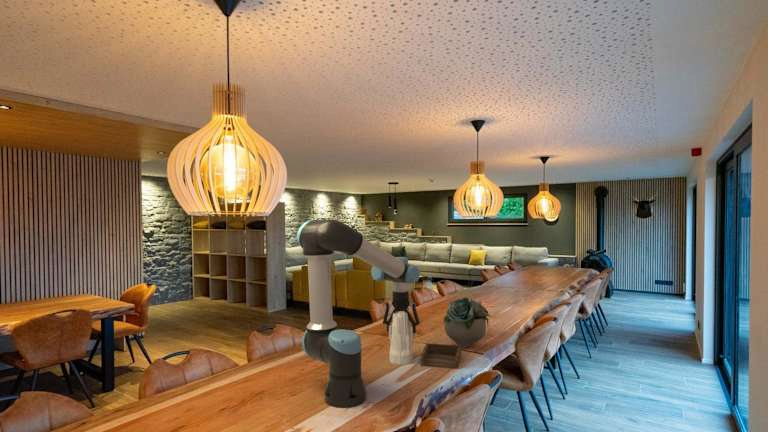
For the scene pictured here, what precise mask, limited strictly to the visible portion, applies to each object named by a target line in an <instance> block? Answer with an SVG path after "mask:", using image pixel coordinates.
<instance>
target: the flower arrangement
mask: <svg viewBox="0 0 768 432" xmlns="http://www.w3.org/2000/svg"><path fill="white" fill-rule="evenodd" d="M487 317H489V318H491V315H490V314H489V312H488V310H487V309H486V307H485V306H483V305H482V301H481V300H478V301H476V300H474V299H473V298H472V297H463V298H458V299H455V300H452V301H450V302H449V303H448V305H447V310H446V315H445V316H443V324H444V332H445V334H446V336H447V337H448V338H449V339H451V340H452V341H454V342H455V343H456V345H459V346H461V348H473V346H475V343H478V342H479V341H481V340H482V339H483V338H484V337H485V334H486V331H487V326H489V320H490V319H489V318H487Z"/></svg>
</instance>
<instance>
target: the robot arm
mask: <svg viewBox="0 0 768 432" xmlns="http://www.w3.org/2000/svg"><path fill="white" fill-rule="evenodd" d="M296 240H297V244H298V245H299V246H300V247H301V248H302V254H303V257H304V258H305V259H306V260H307V274H308V275H307V277H308V296H309V300H308V302H309V317H310V318H309V319H310V321H309V322H308V324H307V325H306V330H305V331H304V334H303V336H302V338H301V347H302V350H303V352H304V353H305V354H306V355H307V356H308V357H309V358H311V359H312V360H316V361H319V362H321V363H324V364H326V365H328V379H327V383H326V386H325V390H324V395H323V397H324V402H325V403H326V405H329V406H332V407H337V408H350V407H353V406H355V407H356V406H357V405H358V406H359V405H361V404H363V403H364V402H365V401H366V400H367V389H366V385H365V383H364V381H363V377H362V346H363V345H362V341H361V336H360V334H359V333H358V332H356V331H354V330H351V329H339V328H338V324H337V322H336V321H335V320H334V317H333V298H332V297H333V295H332V293H333V292H332V276H331V275H332V274H331V270H332V269H331V258H332V257H333V255H334V254H335V252H336V253H337V252H338V253H341V254H344V255H346V256H348V257H352V256H353V257H355V258H358V259H359V260H362V261H363V262H365V263H366V264H368V265H370V266H372V267H371V271H370V272H371V274H370V275H371V277H372V279H373V280H374V281H376V282H383V281H388V282H392V284H391V285H392V286H391V287H392V288H391V289H392V301H387V302H385V311H384V316H383V320H382V324H384V325H386V331H387V333H388V340H389V341H391V333H392V319H393V313H395V312H396V311H405V312H406V313H407V314H408V318H409V320H410V324H411V325H410V333H411V341H412V342H413V341H414V340H415V338H414V337H415V335H414V334H416V332H417V331H416V330H417V328H416V327H417V326H419V325H420V323H421V322H420V319H419V315H418V312H417V303H416V302H410V294H409V293H410V292H409V289H410V287H409V284H416V283H418V282H419V280H420V276H421V271H420V269H419V267H418V266H417V265H413V264H409V259H408V258H407V257H405V256H395V255H392V254H390V253H388V252H387V251H386V250H384V249H382V248H381V247H379V246H378V245H376V244H374V243H372V242H371V241H369V240H367V239H366V238H364V236H363V234H362V233H361V232H360V231H358V230H356V229H354V228H353V227H351V226H350V225H348V224H346V223H344V222H342V221H339V220H338V219H337V220H336V219H312V220H307V221H305V222H304V223H302V224H301V226H300V227H299V228H298V230H297V234H296ZM391 306H392V307H393V310H392V312H391V314H390V313H389V312H390V309H391ZM409 306H410V308H412V309H411V310H412V313H413V316H412V314H411V311H409V312H408V310H407V308H409ZM389 314H390V316H389ZM388 317H389V318H388Z"/></svg>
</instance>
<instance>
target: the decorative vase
mask: <svg viewBox="0 0 768 432" xmlns="http://www.w3.org/2000/svg"><path fill="white" fill-rule="evenodd" d="M407 310H408V312H410V308H409V307H408V308H407ZM391 324H392V333H391V340H390V348H389V354H388V355H389V362H390V363H391V364H393V365H398V366H399V365H401V366H404V365H410V364H412V363H413V362H414V351H413V341H411V325H410V324H411V322H410V320H409V318H408V314H407V313H406V312H405V311H396V312H395V313H393V319H392V321H391Z"/></svg>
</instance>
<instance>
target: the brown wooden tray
mask: <svg viewBox="0 0 768 432" xmlns="http://www.w3.org/2000/svg"><path fill="white" fill-rule="evenodd" d="M461 359H462V347H461V346H459V345H457V344H456V345H454V344H441V343H425V346H424V348H423V349H422V351H421V353H420V367H432V368H442V369H443V368H447V369H457V370H458V369H459V368H460V363H461Z"/></svg>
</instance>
